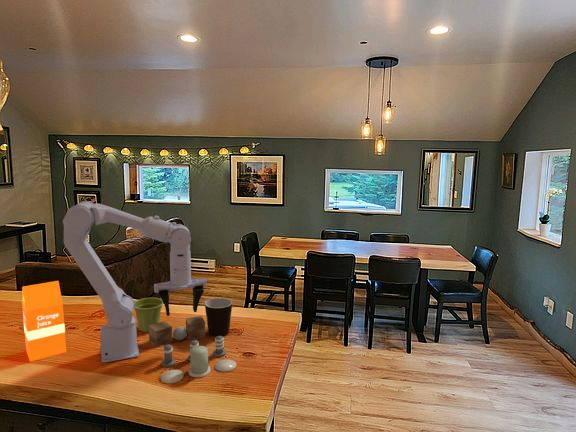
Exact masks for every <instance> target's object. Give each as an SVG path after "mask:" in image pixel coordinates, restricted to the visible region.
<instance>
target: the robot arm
mask: <svg viewBox="0 0 576 432" xmlns="http://www.w3.org/2000/svg"><path fill="white" fill-rule="evenodd" d="M106 223H111V224H116V225H119V226H124V227H128V228H131V229H135V230H139V232H140V233H141V235H142V236H143V237H146V238H149V239H152V240H155V241H158V242H162V243H169V245H170V251H169V267H170V268H169V273H170V280H169V281H165V282H160V283H154V284H153V291H154V294H158V296H159V297H160V299H162V301H163V305H164V308H165V313H166V316H167V317H169V316H170V314H171V313H170V295H169V291H175V290H176V291H177V290H185V289H192V310H193V312H194V313H197V312H198V306H199V303H200V300H201V298H202V295H203V294H204V291H205V289H204V288H206V287H208V284H207V283H208V282H207V281H208V280H207V279H206V278H192V265H191V264H192V263H191V262H192V259H191V258H192V256H191V255H192V254H191V250H190V249H191V242H192V237H191V233H190V230H189V228H188V227H187V226H185V225H183V224H181V223H178V224H177V222H174V221H173V222H169V221H167V220H163V219H160V216H159V215H154V216H148V217H145V218H143V217H140V216H137V215H135V214H131V213H129V212H125V211H122V210H120V209H117V208H115V207H112V206H109V205H105V204H102V203H94V202H92V201H89V200H83V201H80V202H78V203H77V204H76V205H72V206H71V207H70V208H69V209H68V210H67V212H66V214H64V218H63V219H62V224H63V244H64V247H65V248H66V249H67V251H68V253H69V254H70V256H71V257H72V259H73V260H74V261H75V263H76V264H77V266H78V267H79V268H80V270H81V272H82V273H83V274H84V276H85V277H86V279H87V281H88V282H89V283H90V285H91V286H92V288H93V290H94V291H95V292H96V293H97V295H98V297H99V298H100V299H101V304H102V309H103V310H104V312H105V313H106V319H107V324H104V325H101V326H100V327H99V328H100V334H99V335H100V337H99V338H100V345H99V353H100V355H101V363H109V362H114V361H120V360H126V359H132V358H137V357H140V349H139V344H138V343H139V342H137V341H138V340H137V339H138V337H137V318H135V316H133V313H134V311H135V309H134V308H135V300H134V299H133V297H131V296H130V295H127V293H125V292H124V290H123V289H122V288H121V287H119V286H118V285H117V284H116V282H115V280H114V279H113V277H112V276H111V275H110V273H109V271H108V270H107V269H106V267H105V265H104V263H103V262H102V261H101V259H100V257H99V256H98V254H97V253H96V252H95V250H94V249H93V247H92V245H91V244H90V242H89V241H88V237H89V234H90V231H91V229H92V227H93V225H94V224H95V226H99V225H102V224H106Z"/></svg>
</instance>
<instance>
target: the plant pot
mask: <svg viewBox="0 0 576 432" xmlns="http://www.w3.org/2000/svg"><path fill="white" fill-rule="evenodd" d="M134 302H135V308H134V312H135V316H136V323H137V327H138V330H139V331H140V332H143V333H149V325H153V324H156V323H159V322H160V319H161V312H162V308H163V305H164V303H163V301H162V299H161V298H159V297H144V298H140V299H138V300H134Z"/></svg>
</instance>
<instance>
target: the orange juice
mask: <svg viewBox="0 0 576 432" xmlns="http://www.w3.org/2000/svg"><path fill="white" fill-rule="evenodd" d="M21 289H22V290H21V298H22V299H21V306H22V318H23V330H24V339H25V340H24V341H25V349H26V350H25V352H26V354H27V357H28V360H29V363H31V362H34V361H37V360H41V359H44V358H45V359H46V358H49V357H52V356H56V355H60V354H63V353H67V343H66V342H67V341H66V327H65V326H66V325H65V315H64V303H63V298H62V293H61V288H60V282H59V280H54V281H49V282H48V281H47V282H43V283H38V284H36V283H35V284H30V285H26V286H25V285H23V286H22V287H21Z"/></svg>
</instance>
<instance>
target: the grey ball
mask: <svg viewBox="0 0 576 432" xmlns="http://www.w3.org/2000/svg"><path fill="white" fill-rule="evenodd" d="M172 337H173V338H174V339H175V340H176V341H182V340H184V339H185V338H186V337H187V332H186V327H184V326H177V327H175V328H174V330H172Z"/></svg>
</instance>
